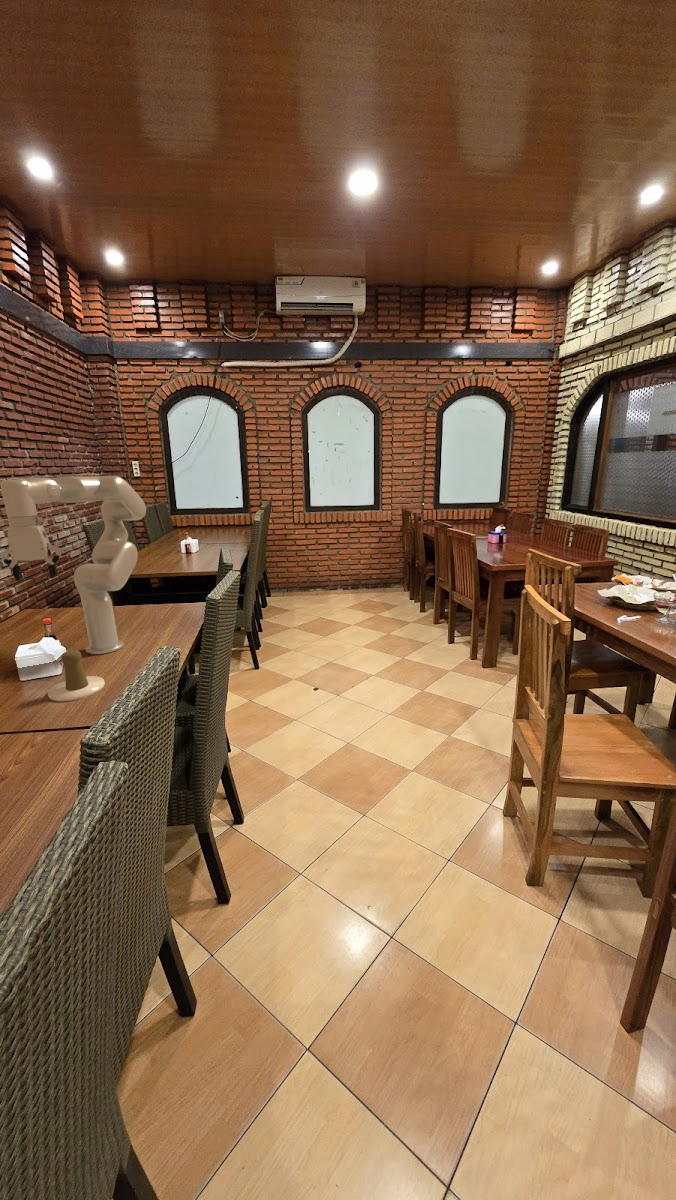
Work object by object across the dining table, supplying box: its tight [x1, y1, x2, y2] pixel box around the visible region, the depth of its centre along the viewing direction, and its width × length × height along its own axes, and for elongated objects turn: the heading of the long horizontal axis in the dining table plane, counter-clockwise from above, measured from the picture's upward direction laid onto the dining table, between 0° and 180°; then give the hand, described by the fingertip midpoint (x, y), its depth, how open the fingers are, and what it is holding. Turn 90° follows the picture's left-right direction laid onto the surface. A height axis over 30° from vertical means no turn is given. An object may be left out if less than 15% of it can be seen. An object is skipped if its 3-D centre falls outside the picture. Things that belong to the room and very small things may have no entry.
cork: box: [60, 649, 88, 691], centre depth 141 cm, size 6×6×11 cm
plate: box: [47, 675, 106, 702], centre depth 142 cm, size 15×15×1 cm
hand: (36, 578), depth 147 cm, fingers open, 9 cm apart
